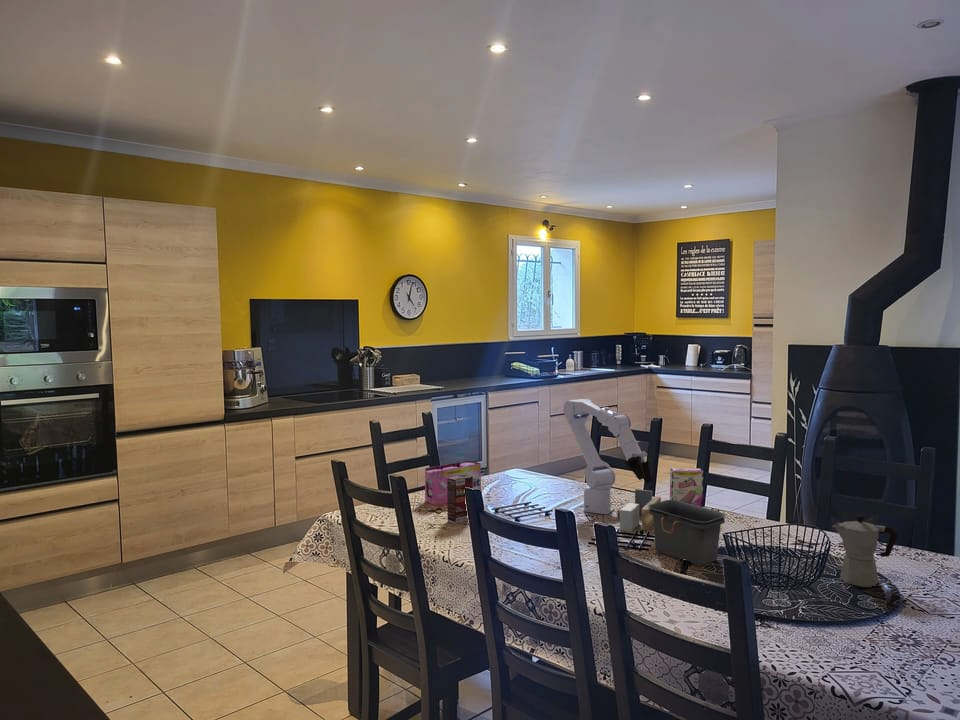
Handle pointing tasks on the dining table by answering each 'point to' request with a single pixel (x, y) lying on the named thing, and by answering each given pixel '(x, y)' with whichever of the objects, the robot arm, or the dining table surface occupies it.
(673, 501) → the storage bin
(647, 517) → the shelf wall
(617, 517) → the walnut block
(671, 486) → the candy bar box
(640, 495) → the bookend
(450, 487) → the supplement box
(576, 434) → the robot arm
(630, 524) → the boxed book
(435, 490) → the gum box
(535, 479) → the dining table surface
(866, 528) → the coffeepot
